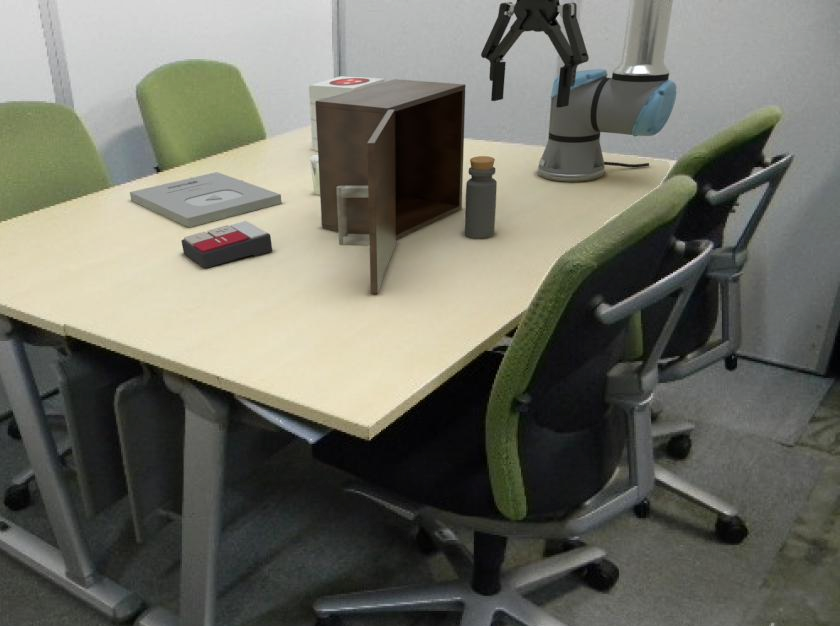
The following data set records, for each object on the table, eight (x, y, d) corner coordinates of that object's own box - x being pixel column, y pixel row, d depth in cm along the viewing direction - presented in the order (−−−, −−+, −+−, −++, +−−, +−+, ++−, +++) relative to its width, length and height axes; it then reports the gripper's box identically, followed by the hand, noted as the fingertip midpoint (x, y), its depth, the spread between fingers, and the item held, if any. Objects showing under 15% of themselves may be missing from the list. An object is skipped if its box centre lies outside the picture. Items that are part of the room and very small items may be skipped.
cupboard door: (337, 292, 149) (331, 143, 136) (361, 243, 171) (357, 110, 158) (377, 293, 148) (374, 142, 135) (395, 243, 170) (394, 109, 157)
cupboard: (461, 209, 186) (465, 84, 173) (389, 243, 170) (387, 108, 157) (395, 197, 197) (394, 79, 184) (321, 228, 181) (315, 100, 168)
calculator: (179, 236, 171) (246, 217, 176) (183, 256, 173) (249, 237, 179) (201, 250, 162) (270, 230, 168) (204, 272, 165) (273, 251, 170)
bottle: (476, 240, 168) (479, 164, 161) (458, 233, 173) (460, 158, 165) (500, 234, 170) (504, 159, 163) (482, 227, 175) (485, 153, 168)
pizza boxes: (362, 168, 222) (360, 96, 213) (302, 149, 244) (298, 83, 235) (421, 155, 230) (421, 85, 221) (358, 137, 252) (356, 73, 244)
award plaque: (217, 180, 221) (216, 171, 220) (281, 203, 199) (280, 194, 198) (131, 200, 209) (129, 191, 208) (188, 227, 187) (187, 218, 186)
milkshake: (331, 189, 207) (329, 147, 202) (329, 195, 202) (327, 152, 197) (312, 189, 207) (310, 148, 202) (310, 196, 203) (308, 153, 198)
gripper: (466, -27, 150) (459, 100, 160) (596, -29, 134) (580, 112, 143) (491, -29, 154) (483, 95, 164) (620, -31, 138) (603, 106, 148)
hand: (528, 103), depth 154 cm, fingers open, 13 cm apart
